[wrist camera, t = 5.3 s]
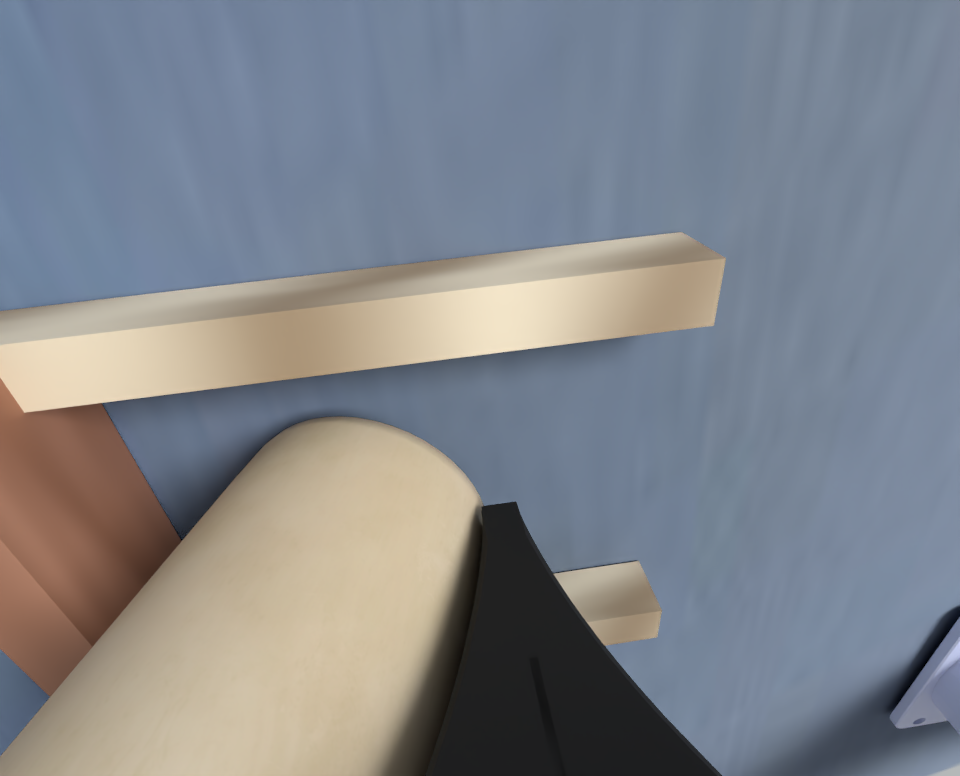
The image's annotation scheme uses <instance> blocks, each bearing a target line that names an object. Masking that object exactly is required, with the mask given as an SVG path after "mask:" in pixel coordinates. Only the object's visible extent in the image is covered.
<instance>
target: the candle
mask: <svg viewBox="0 0 960 776" xmlns="http://www.w3.org/2000/svg"><path fill="white" fill-rule="evenodd" d="M481 506H484V505H483V503H482V500H481V498H480V496H479V494H478V492H477V491H476V489H475V487H474V485H473V484H472V483H471V481H470V480H469V479H468V478H467V476H466V475H465V474H464V472H463V471H462V470H461V469H460V468H459V467H458V466H457V465H456V464H455V463H454V462H453V461H452V460H450V459H449V458H448V457H447V456H446V455H444V454H443V453H442V452H441V451H439V450H438V449H436V448H435V447H433V446H432V445H430V444H429V443H427V442H426V441H424V440H422V439H420V438H418V437H416V436H414V435H412V434H411V433H409V432H406V431H404V430H401V429H399V428H396V427H394V426H391V425H388V424H384V423H381V422H377V421H373V420H368V419H362V418H356V417H342V416H337V417H322V418H316V419H310V420H307V421H303V422H300V423H297V424H295V425H293V426H291V427H289V428H287V429H285V430H283V431H282V432H281V433H279V434H278V435H277V436H275V437H274V438H273V439H271V440H270V441H269V442H268V443H266V444H265V445H264V446H263V447H262V448H261V449H260V451H259V452H258V453H257V454H256V455H255V456H254V457H253V458H252V459H251V461H250V462H249V463H248V464H247V465H246V466H245V467H244V468H243V470H242V471H241V472H240V473H239V474H238V475H237V476H236V477H235V479H234V480H233V481H232V482H231V483H230V485H229V486H228V487H227V488H226V489H225V490H224V492H223V493H222V494H221V495H220V496H219V498H218V499H217V500H216V501H215V502H214V503H213V505H212V506H211V507H210V508H209V509H208V511H207V512H206V513H205V514H204V515H203V517H202V518H201V519H200V520H199V521H198V522H197V524H196V525H195V526H194V527H193V528H192V530H191V531H190V532H189V533H188V534H187V536H186V537H185V538H184V539H183V540H182V541H181V543H180V544H179V545H178V546H177V547H176V549H175V550H174V551H173V552H172V553H171V554H170V556H169V557H168V558H167V559H166V560H165V562H164V563H163V564H162V565H161V566H160V568H159V569H158V570H157V571H156V572H155V573H154V575H153V576H152V577H151V578H150V579H149V581H148V582H147V583H146V584H145V585H144V586H143V588H142V589H141V590H140V591H139V592H138V594H137V595H136V596H135V597H134V598H133V600H132V601H131V602H130V603H129V604H128V605H127V607H126V608H125V609H124V610H123V611H122V613H121V614H120V615H119V616H118V617H117V619H116V620H115V621H114V622H113V623H112V624H111V626H110V627H109V628H108V629H107V630H106V632H105V633H104V634H103V635H102V636H101V637H100V639H99V640H98V641H97V642H96V643H95V645H94V646H93V647H92V648H91V649H90V651H89V652H88V653H87V654H86V655H85V656H84V658H83V659H82V660H81V661H80V662H79V664H78V665H77V666H76V667H75V668H74V670H73V671H72V672H71V673H70V674H69V675H68V677H67V678H66V679H65V680H64V681H63V683H62V684H61V685H60V686H59V687H58V688H57V690H56V691H55V692H54V693H53V694H52V696H51V697H50V698H49V699H48V700H47V702H46V703H45V704H44V705H43V706H42V707H41V709H40V710H39V711H38V712H37V713H36V715H35V716H34V717H33V718H32V719H31V720H30V722H29V723H28V724H27V725H26V726H25V728H24V729H23V730H22V731H21V732H20V734H19V735H18V736H17V737H16V738H15V739H14V741H13V742H12V743H11V744H10V745H9V747H8V748H7V749H6V750H5V751H4V753H3V754H2V755H1V756H0V776H425V774H426V771H427V768H428V765H429V763H430V760H431V757H432V754H433V751H434V748H435V745H436V742H437V739H438V736H439V733H440V730H441V727H442V724H443V721H444V718H445V714H446V711H447V708H448V705H449V701H450V698H451V694H452V691H453V688H454V684H455V681H456V677H457V673H458V670H459V666H460V662H461V658H462V655H463V651H464V646H465V642H466V637H467V633H468V628H469V624H470V620H471V615H472V611H473V606H474V600H475V594H476V588H477V581H478V575H479V569H480V560H481V550H482V514H481V510H482V508H481Z"/></svg>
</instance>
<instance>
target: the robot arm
mask: <svg viewBox="0 0 960 776" xmlns="http://www.w3.org/2000/svg"><path fill="white" fill-rule="evenodd" d="M481 508H482V510H481V514H482V550H481V560H480V569H479V575H478V581H477V588H476V594H475V600H474V606H473V611H472V615H471V620H470V624H469V628H468V633H467V637H466V642H465V646H464V651H463V655H462V658H461V662H460V666H459V670H458V673H457V677H456V681H455V684H454V688H453V691H452V694H451V698H450V701H449V705H448V708H447V711H446V714H445V718H444V721H443V724H442V727H441V730H440V733H439V736H438V739H437V742H436V745H435V748H434V751H433V754H432V757H431V760H430V763H429V765H428V768H427V771H426V774H425V776H722V775H721V774H720V773H719V772H718V771H717V770H716V769H715V768H714V767H713V766H712V765H711V764H710V763H709V762H708V761H707V760H706V759H705V758H704V757H703V755H702V754H701V753H700V752H699V751H698V750H697V749H696V748H695V747H694V746H693V745H692V744H691V743H690V742H689V741H688V740H687V739H686V738H685V737H684V736H683V735H682V734H681V733H680V732H679V731H678V730H677V729H676V728H675V727H674V726H673V724H672V723H671V722H670V721H669V720H668V719H667V718H666V717H665V716H664V715H663V714H662V713H661V712H660V710H659V709H658V708H657V707H656V706H655V705H654V704H653V703H652V701H651V700H650V699H649V698H648V697H647V696H646V695H645V694H644V692H643V691H642V690H641V689H640V688H639V687H638V686H637V685H636V683H635V682H634V681H633V680H632V679H631V677H630V676H629V675H628V674H627V673H626V671H625V670H624V669H623V668H622V667H621V666H620V664H619V663H618V662H617V661H616V659H615V658H614V657H613V656H612V654H611V653H610V652H609V651H608V649H607V648H606V647H605V646H604V644H603V643H602V642H601V641H600V639H599V638H598V637H597V635H596V634H595V633H594V631H593V630H592V629H591V627H590V626H589V625H588V623H587V622H586V621H585V619H584V618H583V617H582V615H581V614H580V612H579V611H578V610H577V608H576V607H575V605H574V604H573V603H572V601H571V600H570V598H569V597H568V595H567V594H566V592H565V591H564V589H563V588H562V586H561V585H560V583H559V582H558V580H557V579H556V577H555V576H554V574H553V573H552V571H551V570H550V568H549V566H548V565H547V563H546V561H545V560H544V558H543V556H542V555H541V553H540V551H539V549H538V548H537V546H536V544H535V543H534V541H533V539H532V537H531V535H530V533H529V531H528V529H527V527H526V525H525V523H524V521H523V519H522V517H521V515H520V512H519V509H518V506H517V503H516V502H510V503H502V504H495V505H488V506H481ZM890 720H891V721H892V722H893V724H894V725H895V727H897V728H900V729H902V728H909V727H915V726H921V725H926V724H932V723H938V722H944V721H949V722H950V724H951V725H952V726H953V727H954V728H955V730H956V731H957V732H958V733H959V734H960V617H959V618H958V620H957V621H956V622H955V624H954V625H953V627H952V628H951V630H950V631H949V632H948V634H947V635H946V637H945V638H944V639H943V641H942V642H941V644H940V645H939V647H938V648H937V649H936V651H935V652H934V654H933V655H932V656H931V658H930V659H929V661H928V662H927V664H926V665H925V666H924V668H923V669H922V671H921V672H920V673H919V675H918V676H917V678H916V679H915V681H914V682H913V683H912V685H911V686H910V688H909V689H908V690H907V692H906V693H905V695H904V696H903V698H902V699H901V700H900V702H899V703H898V705H897V706H896V707H895V709H894V710H893V712H892V713H891V715H890Z"/></svg>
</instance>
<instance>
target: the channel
mask: <svg viewBox="0 0 960 776" xmlns="http://www.w3.org/2000/svg"><path fill="white" fill-rule="evenodd" d="M725 260H726V258H725V257H723V256H721V255H720V254H718V253H716V252H714V251H713V250H711V249H709V248H708V247H706V246H704V245H703V244H701V243H699V242H698V241H696V240H694V239H693V238H691V237H689V236H687V235H686V234H684V233H682V232H678V233H669V234H661V235H652V236H643V237H635V238H626V239H617V240H609V241H600V242H592V243H583V244H574V245H566V246H557V247H549V248H540V249H531V250H523V251H514V252H506V253H497V254H488V255H480V256H471V257H462V258H454V259H445V260H437V261H428V262H419V263H411V264H402V265H394V266H385V267H376V268H368V269H359V270H351V271H342V272H333V273H325V274H316V275H307V276H299V277H290V278H282V279H273V280H264V281H256V282H247V283H239V284H230V285H221V286H213V287H204V288H196V289H187V290H178V291H170V292H161V293H153V294H144V295H135V296H127V297H118V298H109V299H101V300H92V301H84V302H75V303H66V304H58V305H49V306H41V307H32V308H23V309H15V310H6V311H0V649H1V650H2V651H3V652H4V653H5V654H6V655H7V656H8V657H9V658H10V659H11V660H12V661H13V662H15V663H16V664H17V665H18V666H19V667H20V668H21V669H22V670H23V671H24V672H25V673H26V674H27V675H28V676H29V677H30V678H31V679H32V680H33V681H34V682H35V683H36V684H37V685H38V686H39V687H40V688H41V689H42V690H43V691H45V692H46V693H47V694H48V695H49V696H50V697H51V696H52V694H53V693H54V692H55V691H56V690H57V688H58V687H59V686H60V685H61V684H62V683H63V681H64V680H65V679H66V678H67V677H68V675H69V674H70V673H71V672H72V671H73V670H74V668H75V667H76V666H77V665H78V664H79V662H80V661H81V660H82V659H83V658H84V656H85V655H86V654H87V653H88V652H89V651H90V649H91V648H92V647H93V646H94V645H95V643H96V642H97V641H98V640H99V639H100V637H101V636H102V635H103V634H104V633H105V632H106V630H107V629H108V628H109V627H110V626H111V624H112V623H113V622H114V621H115V620H116V619H117V617H118V616H119V615H120V614H121V613H122V611H123V610H124V609H125V608H126V607H127V605H128V604H129V603H130V602H131V601H132V600H133V598H134V597H135V596H136V595H137V594H138V592H139V591H140V590H141V589H142V588H143V586H144V585H145V584H146V583H147V582H148V581H149V579H150V578H151V577H152V576H153V575H154V573H155V572H156V571H157V570H158V569H159V568H160V566H161V565H162V564H163V563H164V562H165V560H166V559H167V558H168V557H169V556H170V554H171V553H172V552H173V551H174V550H175V549H176V547H177V546H178V545H179V544H180V543H181V539H180V538H179V536H178V534H177V533H176V531H175V529H174V527H173V526H172V524H171V522H170V520H169V519H168V517H167V515H166V514H165V512H164V510H163V508H162V507H161V505H160V503H159V502H158V500H157V498H156V496H155V495H154V493H153V491H152V490H151V488H150V486H149V484H148V483H147V481H146V479H145V478H144V476H143V474H142V472H141V471H140V469H139V467H138V465H137V464H136V462H135V460H134V459H133V457H132V455H131V453H130V452H129V450H128V448H127V447H126V445H125V443H124V441H123V440H122V438H121V436H120V435H119V433H118V431H117V429H116V428H115V426H114V424H113V423H112V421H111V419H110V417H109V416H108V414H107V412H106V411H105V409H104V407H103V405H102V404H101V403H105V402H113V401H121V400H129V399H137V398H145V397H152V396H160V395H168V394H176V393H184V392H192V391H200V390H208V389H216V388H224V387H232V386H239V385H247V384H255V383H263V382H271V381H279V380H287V379H295V378H303V377H311V376H319V375H326V374H334V373H342V372H350V371H358V370H366V369H374V368H382V367H390V366H398V365H406V364H413V363H421V362H429V361H437V360H445V359H453V358H461V357H469V356H477V355H485V354H493V353H500V352H508V351H516V350H524V349H532V348H540V347H548V346H556V345H564V344H572V343H580V342H587V341H595V340H603V339H611V338H619V337H627V336H635V335H643V334H651V333H659V332H667V331H674V330H682V329H690V328H698V327H706V326H714V321H715V315H716V310H717V304H718V299H719V293H720V288H721V282H722V277H723V271H724V266H725ZM554 576H555V577H556V579H557V580H558V582H559V583H560V585H561V586H562V588H563V589H564V591H565V592H566V594H567V595H568V597H569V598H570V600H571V601H572V603H573V604H574V605H575V607H576V608H577V610H578V611H579V612H580V614H581V615H582V617H583V618H584V619H585V621H586V622H587V623H588V625H589V626H590V627H591V629H592V630H593V631H594V633H595V634H596V635H597V637H598V638H599V639H600V641H601V642H602V643H603V644H604V646H605V645H612V644H618V643H624V642H630V641H637V640H643V639H649V638H656V637H657V634H658V629H659V623H660V618H661V612H662V610H661V608H660V606H659V604H658V601H657V599H656V597H655V595H654V593H653V591H652V588H651V586H650V584H649V582H648V580H647V578H646V575H645V573H644V571H643V569H642V567H641V565H640V562H639V561H634V562H628V563H621V564H614V565H608V566H601V567H594V568H588V569H581V570H574V571H568V572H561V573H555V574H554Z"/></svg>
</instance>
